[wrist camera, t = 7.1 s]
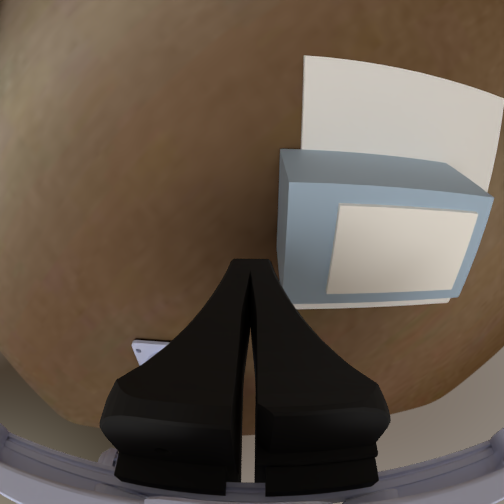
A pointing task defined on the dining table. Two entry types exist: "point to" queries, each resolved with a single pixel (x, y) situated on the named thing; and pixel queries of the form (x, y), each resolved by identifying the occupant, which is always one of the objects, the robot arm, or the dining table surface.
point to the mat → (398, 123)
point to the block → (375, 227)
